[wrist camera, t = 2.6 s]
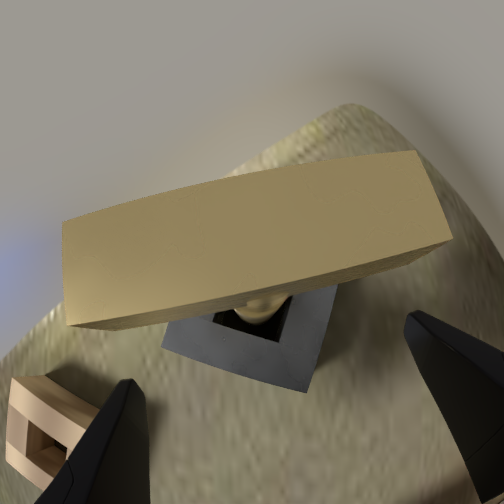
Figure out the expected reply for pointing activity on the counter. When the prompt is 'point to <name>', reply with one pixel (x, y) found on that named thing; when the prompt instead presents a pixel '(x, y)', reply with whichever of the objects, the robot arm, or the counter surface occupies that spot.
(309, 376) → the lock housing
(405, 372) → the counter surface
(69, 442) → the tan square ring block
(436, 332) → the robot arm
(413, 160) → the T-key
